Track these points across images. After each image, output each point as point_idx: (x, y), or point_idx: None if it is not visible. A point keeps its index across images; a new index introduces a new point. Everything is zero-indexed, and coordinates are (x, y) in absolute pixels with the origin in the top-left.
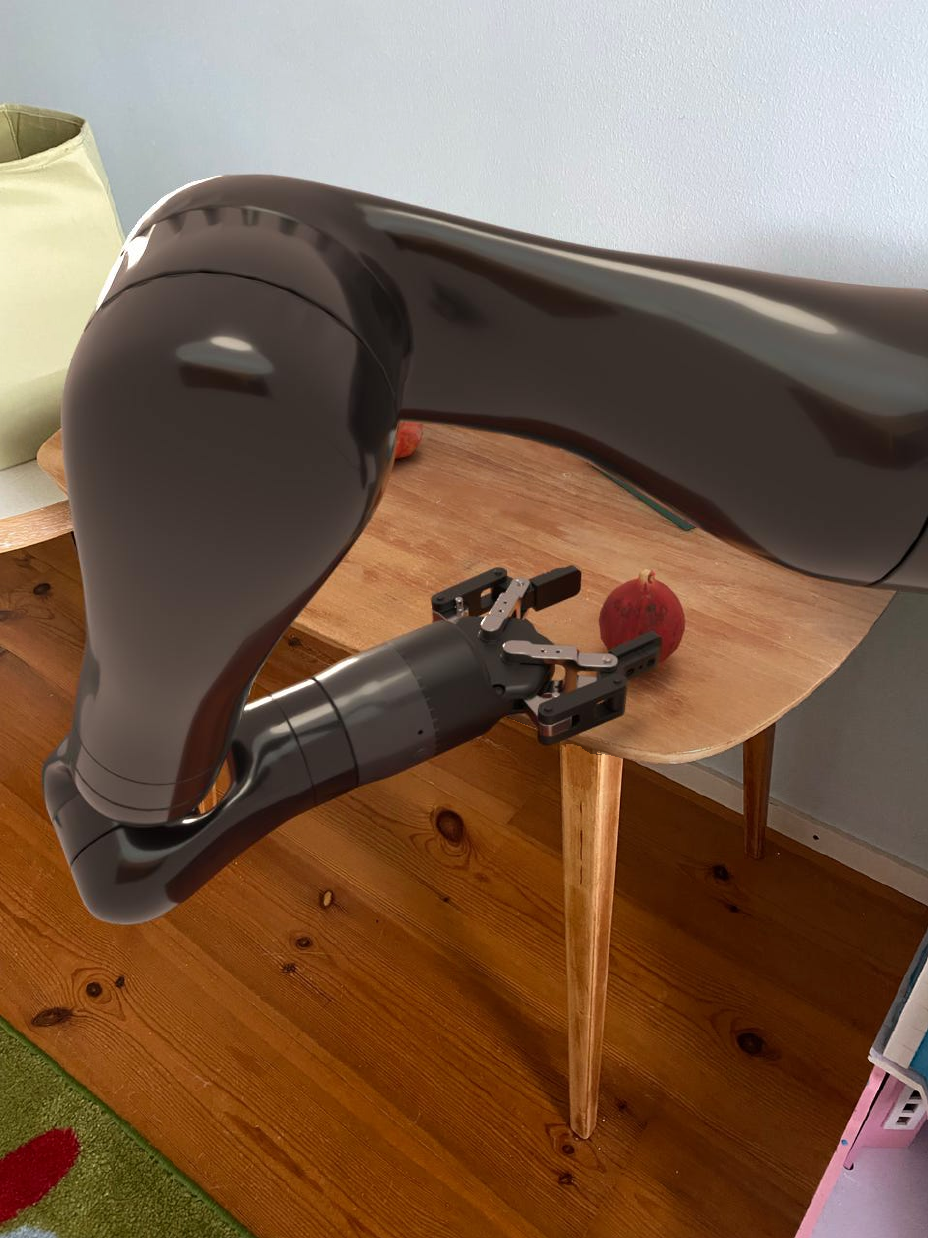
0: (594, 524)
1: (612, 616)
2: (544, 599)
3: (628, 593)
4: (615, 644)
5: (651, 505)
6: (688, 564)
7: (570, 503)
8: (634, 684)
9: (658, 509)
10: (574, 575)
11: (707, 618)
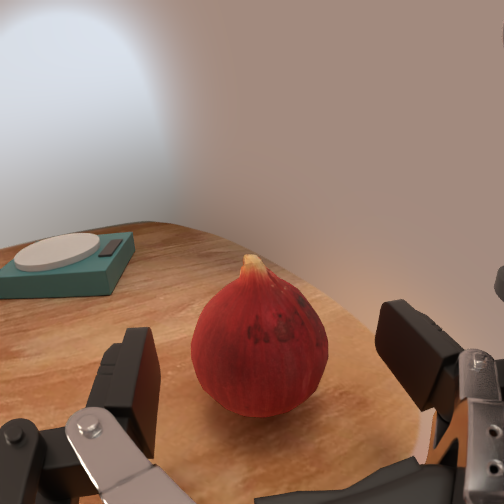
0: (38, 330)
1: (266, 356)
2: (147, 424)
3: (260, 304)
4: (290, 393)
5: (67, 295)
6: (145, 310)
7: (5, 327)
8: (296, 423)
9: (75, 294)
10: (149, 342)
11: None
